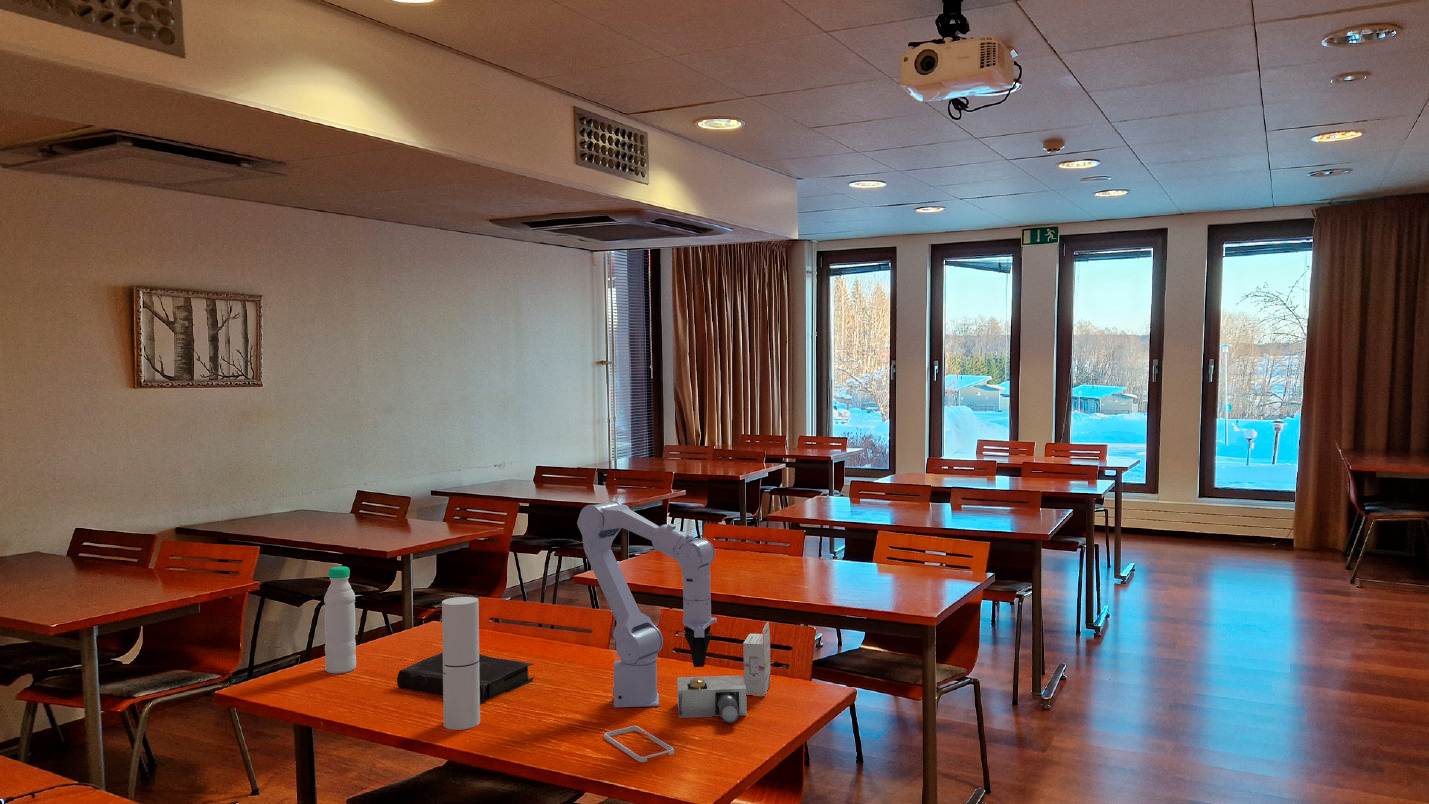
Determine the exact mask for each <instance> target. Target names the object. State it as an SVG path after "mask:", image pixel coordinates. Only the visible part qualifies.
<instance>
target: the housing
mask: <svg viewBox="0 0 1429 804" xmlns="http://www.w3.org/2000/svg"><path fill="white" fill-rule="evenodd" d="M676 678H677V681H676V683H677V684H676V685H677V686H676V688H677V689H676V690H677V692H676V693H677V694H676V695H677V696H676V697H677V712H678V718H679V719H686V718H687V719H689V718H713V717H712V716H720V712H719V707H718V702H717V697H716V693H717V692H734V695H735V699H736V702H737V706H738V710H739V716H738V717H743V716H744V717H746V716H748V715H747V713H748V712H747V709H748V708H747V707H748V706H747V696H746V686H745V683H744V675H741V674H740V675H717V676H715V675H710V676H709V675H708V676H683V677H682V676H679V677H676ZM695 678H700V679H704V681H705V689H695V690H690V680H691V679H695Z"/></svg>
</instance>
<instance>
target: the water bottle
mask: <svg viewBox="0 0 1429 804" xmlns="http://www.w3.org/2000/svg"><path fill="white" fill-rule="evenodd" d="M350 571H351V569H350V567H348V566H346V565H345V566H342V565H341V566H334V567H331V568H329V570H328V577H329V580H330V584H329V586H328V587H327V590H326V592H325V594H324V598H323V602H324V618H323V619H324V623H323V626H324V638H325V639H324V640H325V642H324V643H325V645H324V654H325V659H324V660H325V661H324V669H325V672H327V673H329V674H333V675H334V674H335V675H336V674H346V673H350V672H352V671H354V670H355V669H356V667H357V655H356V650H357V649H356V648H357V642H356V624H357V623H356V605H355V600H356V594H355V592H354V590H353V589H352V586H351V583H350V582H349V578H350V576H351V575H350Z"/></svg>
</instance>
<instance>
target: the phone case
mask: <svg viewBox="0 0 1429 804" xmlns="http://www.w3.org/2000/svg"><path fill="white" fill-rule="evenodd" d="M630 732H638V733H643V734H645V735H647V736H648V737H649V740H651V741H652V742H654V743H656V744H657V745H659V746H660V747H662V748H664V749H665V751H660V752H656V753H651V754H649V755H645V756H642V755H641V756H640V755H639V754H637V753H635V752H634V751H633V750H631V749H630V748H628V747H626V745H623V744H622V743H620V742H619V741H617V740H616V739H614V736H618V735H622V734H623V735H624V734H626V733H630ZM603 734H604V735H603V737H604V740H606V741H607V742H608V743H611V744H612V745H613V746H615V747H616V748H618V749H619V750H621V751H622V752H623V753H625V754H627V755H628V756H630V757H631V758H633V759H634V760H636V761H638V762H639V763H645V762H648V759H649V758H653V757H657V756H660V755H664V754H667V753H668V755H669V756H671V755H674V754H675V749H674V748H675V747H672V746H671V745H669V744H668V743H666V742H665V741H662V740H661V739H660V738H658V737H656V736H655V735H652V733H649V732H648V731H646V730H644V729H643V728H642V727H639V726H638V725H632V726H628V727H624V728H619V729H615V730H611V731H607V732H605V733H603Z"/></svg>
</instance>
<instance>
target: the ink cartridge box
mask: <svg viewBox="0 0 1429 804" xmlns="http://www.w3.org/2000/svg"><path fill="white" fill-rule="evenodd" d="M761 631H762V633H749V634H748V635H747V637H746V639H745V640H744V641H743V642H742V645H743V650H742V652H743V680H744V683H745V686H746V694H750V695H760V696H759V697H763V695H764V697H766V696H765V694H766V695H767V693H768V691H767V690H769V689H770V686H771V634H770V633H771V632H770V622H769V621H767V622H766V623H765V624H764V627H763V629H762V630H761ZM769 685H770V686H769ZM768 688H769V689H768Z"/></svg>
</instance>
